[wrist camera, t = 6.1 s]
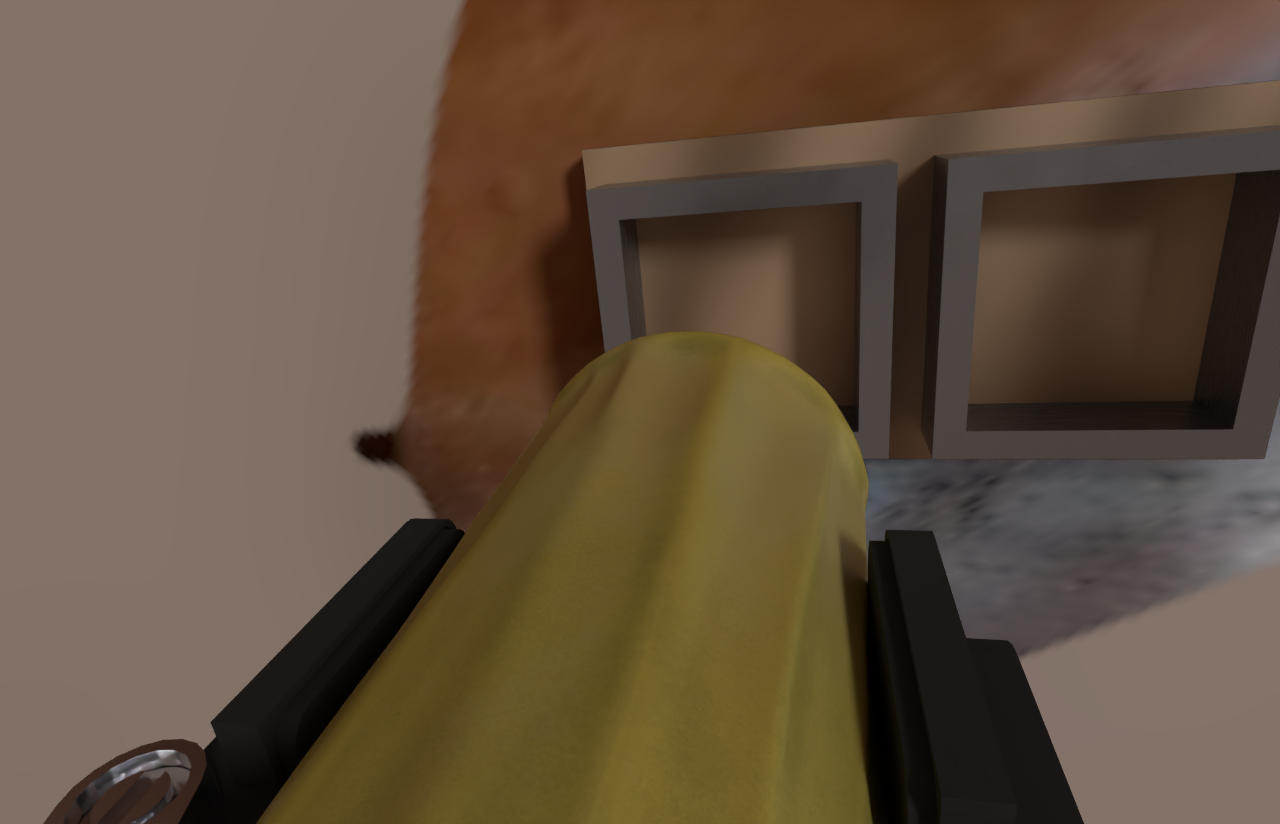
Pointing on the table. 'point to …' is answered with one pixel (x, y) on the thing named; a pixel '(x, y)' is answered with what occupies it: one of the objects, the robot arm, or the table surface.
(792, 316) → the board
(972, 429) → the two-cubby wall shelf
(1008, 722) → the robot arm
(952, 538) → the table surface
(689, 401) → the vase
